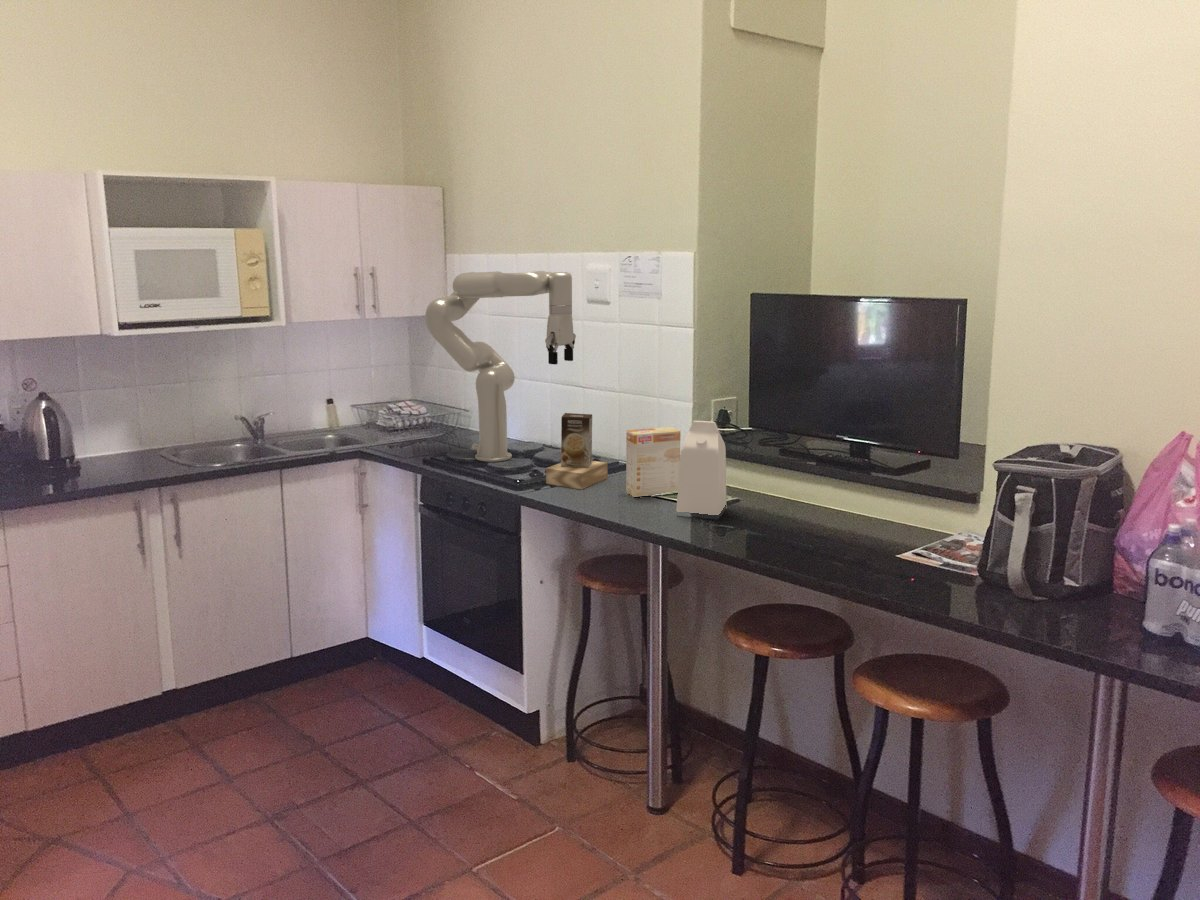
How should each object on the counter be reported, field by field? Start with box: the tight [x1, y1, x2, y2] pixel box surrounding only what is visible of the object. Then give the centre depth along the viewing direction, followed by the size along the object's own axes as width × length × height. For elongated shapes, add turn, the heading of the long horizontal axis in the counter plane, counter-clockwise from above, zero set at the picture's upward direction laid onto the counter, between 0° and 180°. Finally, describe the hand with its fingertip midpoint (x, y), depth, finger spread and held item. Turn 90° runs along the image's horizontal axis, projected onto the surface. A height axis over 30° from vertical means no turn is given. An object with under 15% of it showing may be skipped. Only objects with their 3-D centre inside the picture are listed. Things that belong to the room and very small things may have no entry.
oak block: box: [545, 460, 609, 490], centre depth 304 cm, size 13×16×5 cm
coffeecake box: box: [625, 426, 681, 498], centre depth 288 cm, size 15×7×20 cm, turn 109°
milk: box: [675, 420, 727, 515], centre depth 268 cm, size 12×12×26 cm
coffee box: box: [560, 412, 593, 468], centre depth 302 cm, size 9×6×16 cm
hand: (560, 362), depth 320 cm, fingers open, 9 cm apart
